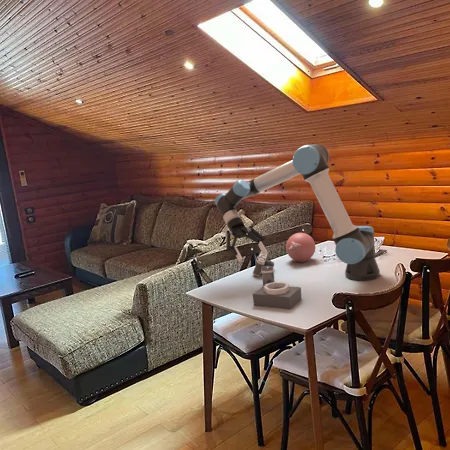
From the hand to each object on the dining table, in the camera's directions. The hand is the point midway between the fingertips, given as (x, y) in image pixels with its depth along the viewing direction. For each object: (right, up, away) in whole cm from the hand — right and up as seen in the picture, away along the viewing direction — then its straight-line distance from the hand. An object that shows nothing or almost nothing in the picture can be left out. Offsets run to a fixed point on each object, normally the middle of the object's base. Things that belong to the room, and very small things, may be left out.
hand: (253, 257), depth 203 cm
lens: (+7, -15, -6) cm, 17 cm away
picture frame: (+61, -1, +39) cm, 72 cm away
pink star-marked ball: (+27, -5, +34) cm, 44 cm away
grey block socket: (+9, -17, -20) cm, 28 cm away
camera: (+7, -9, +24) cm, 27 cm away
